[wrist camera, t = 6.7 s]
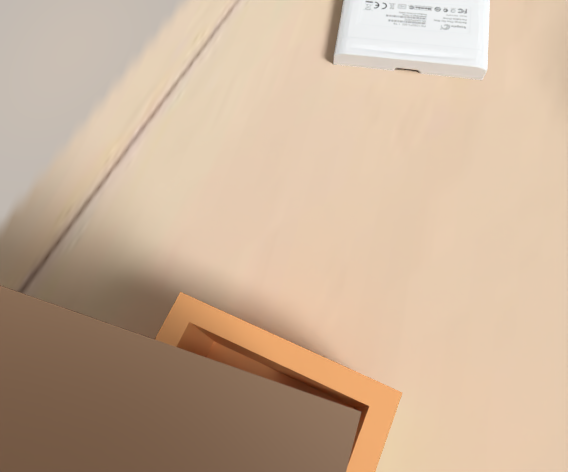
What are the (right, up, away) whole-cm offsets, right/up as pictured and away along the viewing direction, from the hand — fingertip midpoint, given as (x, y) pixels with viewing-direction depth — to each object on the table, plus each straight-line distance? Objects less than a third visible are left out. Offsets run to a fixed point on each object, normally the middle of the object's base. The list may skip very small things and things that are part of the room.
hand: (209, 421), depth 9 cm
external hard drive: (+9, +18, +19) cm, 28 cm away
